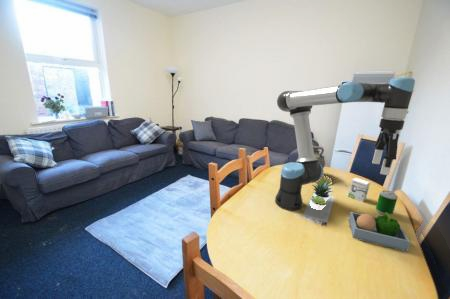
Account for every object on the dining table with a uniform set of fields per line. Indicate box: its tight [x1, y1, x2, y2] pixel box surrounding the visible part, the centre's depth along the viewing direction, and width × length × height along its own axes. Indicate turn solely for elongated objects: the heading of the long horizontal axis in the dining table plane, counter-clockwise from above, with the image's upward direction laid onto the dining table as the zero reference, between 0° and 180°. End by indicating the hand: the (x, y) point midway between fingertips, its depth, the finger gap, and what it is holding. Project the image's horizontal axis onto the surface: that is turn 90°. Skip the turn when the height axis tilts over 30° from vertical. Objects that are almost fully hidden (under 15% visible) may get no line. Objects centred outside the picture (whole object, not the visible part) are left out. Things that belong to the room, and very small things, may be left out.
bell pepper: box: [376, 212, 401, 237], centre depth 93 cm, size 8×8×10 cm
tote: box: [348, 211, 411, 252], centre depth 95 cm, size 20×15×5 cm
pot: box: [295, 145, 326, 169], centre depth 158 cm, size 21×21×25 cm
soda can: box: [375, 189, 398, 216], centre depth 112 cm, size 8×8×12 cm
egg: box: [357, 213, 376, 231], centre depth 96 cm, size 7×7×8 cm
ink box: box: [347, 177, 371, 203], centre depth 126 cm, size 9×5×12 cm, turn 39°
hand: (379, 168), depth 89 cm, fingers open, 13 cm apart
